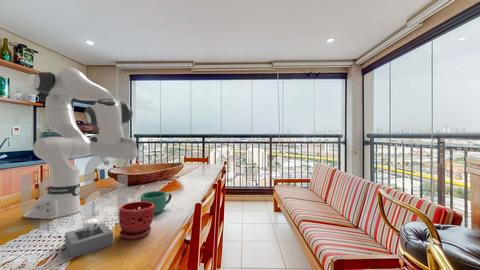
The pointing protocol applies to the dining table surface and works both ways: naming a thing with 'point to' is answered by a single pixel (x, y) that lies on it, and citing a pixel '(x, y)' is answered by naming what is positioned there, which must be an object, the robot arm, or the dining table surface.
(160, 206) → the mug
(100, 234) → the socket collar
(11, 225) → the dining table surface
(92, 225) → the milkshake
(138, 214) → the plant pot
